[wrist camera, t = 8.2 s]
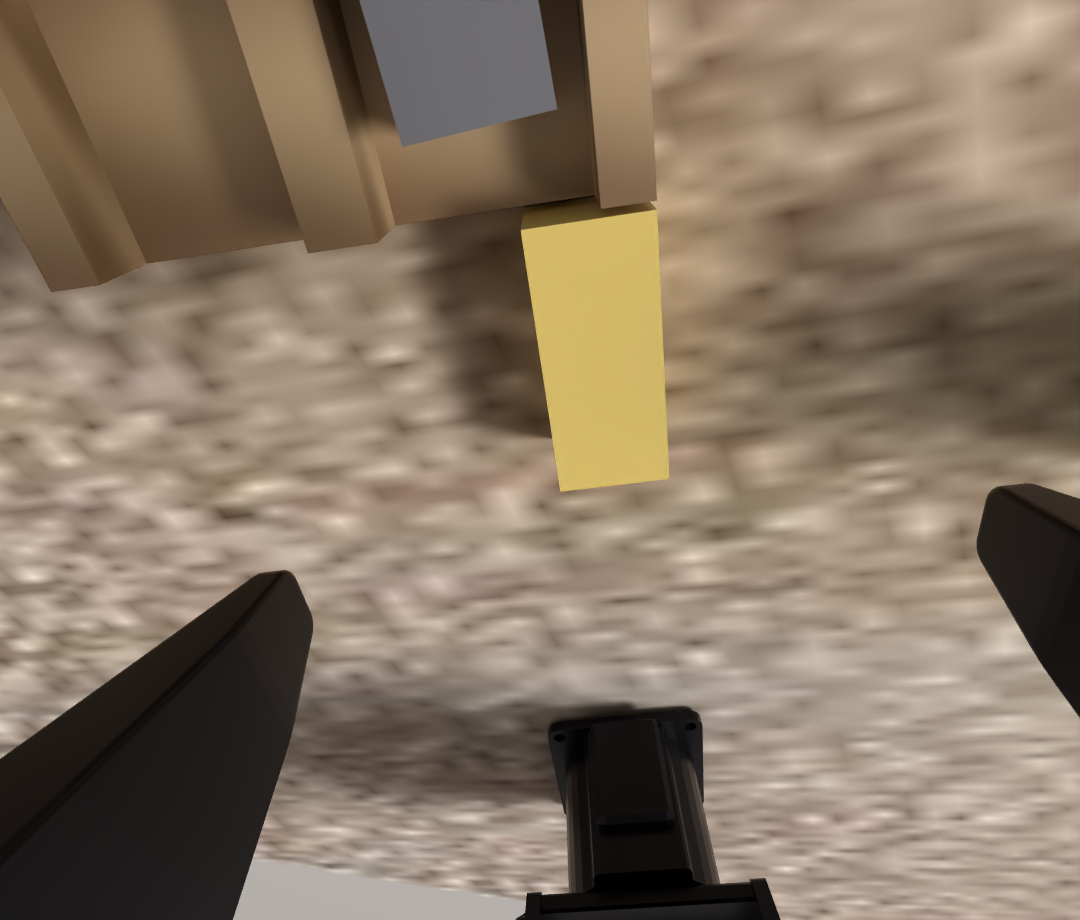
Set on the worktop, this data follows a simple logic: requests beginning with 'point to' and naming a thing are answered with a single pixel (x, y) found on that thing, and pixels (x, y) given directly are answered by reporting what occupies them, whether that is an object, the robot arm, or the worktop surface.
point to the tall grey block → (459, 63)
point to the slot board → (282, 130)
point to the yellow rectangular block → (599, 339)
